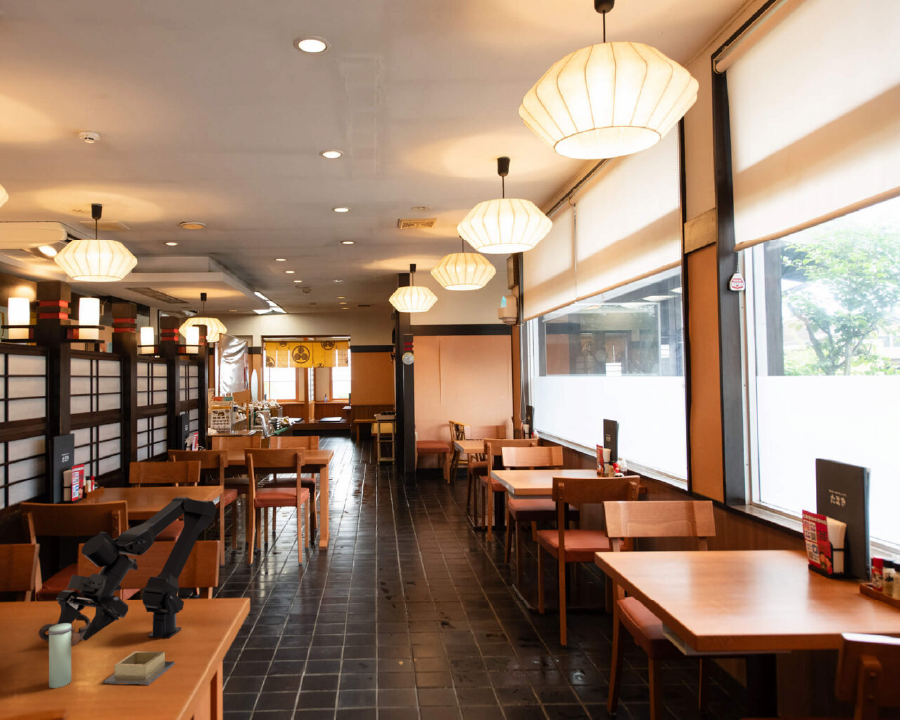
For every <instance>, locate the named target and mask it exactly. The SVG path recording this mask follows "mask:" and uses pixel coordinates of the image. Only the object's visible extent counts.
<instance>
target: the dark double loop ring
mask: <svg viewBox="0 0 900 720" xmlns="http://www.w3.org/2000/svg"><path fill="white" fill-rule="evenodd" d="M58 621H59V619H58V620H57V621H56V622H55V623H47V624H44V625H43V626H42V627H41V628H40V629H39V631H38V636H39V638H40V639H41V640H42V641H45V642H47V643H48V644H49V633H48V634H46V632H49V628H50V627H52V626H54V625H57V624H58ZM75 621H77V622H78V621H79V622H80V621H81V622H82V621H83V622H84V623H85V626H82V627H79V628H78V632H77V631H75V630H76V628H75V627H74V626H72V630H71V646H76V645H77V644H79V641H82V640H83V639H82V638H83V636H84V634H85V632H86V630H87V628H88V627H89V625H90V623H91V619H90V618H89V617H88V616H87V615H85V614H83V613H81V614H80V615H79V616H78V617H77V618H76V619H75Z"/></svg>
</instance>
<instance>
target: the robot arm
mask: <svg viewBox="0 0 900 720" xmlns="http://www.w3.org/2000/svg"><path fill="white" fill-rule="evenodd" d="M216 515H217V506H216V504H215V502H213V501H212V500H199V499H197V500H196V499H193V498H190V497H187V496H176V497H174V498H172V499H171V501H170V502H169V503H168V504H167V505H165V506H164V507H163V508H162V509H160V510H159V511H158V512H156V513H155V514H154V515H152V516H151V517H150V518H149V519H148V520H146V521H145V522H143V523H141V524H139V525H136V526H133V527H131V528H129V529H127V530H125V531H123V532H122V533H120V534H119V535H118V537H116V538H112V537H111V536H110V535H109V534H108V533H107V532H104V531H100V532H99V533H97V535H95V536H93V537H92V538H90V539H88V541H85V543H84V544H83V546H82V548H81V554H82V555H83V556H84V557H85V558H86V559H87V560H89V561H90V562H91V563H93V564H94V565H95V566H96V567H97V568H101V570H99V572H98V573H91V574H90V575H89V576H84V575H76V574H72V575H71V577H70V579H69V583H68V584H67V589H64V590H61V591H60V592H59V593H58V595H57V596H56V597H55V600H56V601H57V604H58V605H59V606H60V613H59V618H58V620H59V621H58V620H57V621H58V624H63V623H69V624H71V625H72V624H73V622H74V621H76V618H77V617H78V616H79V615H80V614H82V612H81V611H82V610H84V609H85V608H86V607H88V608H89V607H90V608H95V613H94V617H93V618H92V620H91V621H90V625H89V627H88V628H87V630H86V632H85V634H84V636H83V638H82V640H83V641H85V642H86V641H89V639H90V638H92V637H93V636H95V635H96V634H98V633H99V632H100V631H102V630H103V629H104V628H106V627H107V626H109V625H111V624H112V623H114V622H116V621H119V620H120V618H121V619H124V618H125V617H126V615H127V614H128V612H129V604H128V603H126V602H125V601H124V600H122V599H121V598H120V596H116V595H114V594H115V592H116V591H118V592H119V591H121V589H122V586H121V585H120V584H121V583H122V581H123V579H124V578H125V577H126V575H127V574H128V572H129V570H132V571H137V570H138V569H139V566H138V563H137V560H138V559H136V558H130V557H129V555H131V556H142V555H145V553H147V552H148V550H149V549H150V548H151V547H152V546H153V544H154V543H155V540H156V537H157V536H158V535H160V534H161V533H162V532H163V531H164V530H166V528H168V527H169V526H170V525H171V524H173V523H174V522H175V521H176V520H178V519H179V518H180V517H181V516H183V518H182V519H183V528H182V529H181V531H180V534H179V536H178V538H177V540H176V541H175V543H174V546H173V547H172V549H171V551H170V554H169V556H168V557H167V560H166V561H165V564H164V566H163V568H162V570H161V572H160V573H159V574H158V575H156V576H150V577H149V579H148V580H147V583H146V585H145V587H144V588H143V589H142V592H143V593H142V596H141V600H142V604H143V606H144V608H145V610H146V612H147V613H152V614H153V615H152V631H151V632H150V633H149V634H147V637H148V638H156V639H159V638H164V639H169V638H171V637H173V636H174V635H175V634H177V633H178V632H179V631H181V630H182V627H181V626H177V614H179V613H180V611H183V609H184V605H185V602H184V600H183V599H182V598H180V596H178V595H179V594H178V593H179V591H180V589H179V577H180V576H181V574H182V572H183V570H184V567H185V565H186V563H187V561H188V559H189V556H190V555H191V552H192V550H193V548H194V547H195V544H196V542H197V540H198V538H199V536H200V534H201V532H202V531H203V530H205V529H206V528H208V526H209V525H210V524H212V522H213V520H214V518H215V516H216ZM72 589H73V590H72ZM76 590H78V591H76ZM58 624H57V625H58Z"/></svg>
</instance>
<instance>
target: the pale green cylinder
mask: <svg viewBox="0 0 900 720" xmlns="http://www.w3.org/2000/svg"><path fill="white" fill-rule="evenodd" d="M72 627H73V625H72V623H71V624H69V623H63V624H58V625H54V626H52V627H50V628H49V631H48V634H49V643H48V688H50V689H59V687H60V688H63V687H65V685H66V686H68V685H70V684H71V683H72V645H71V640H72V636H71V630H72ZM70 682H71V683H70ZM69 683H70V684H69ZM67 684H68V685H67Z"/></svg>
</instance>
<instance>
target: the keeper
mask: <svg viewBox="0 0 900 720" xmlns="http://www.w3.org/2000/svg"><path fill="white" fill-rule="evenodd" d="M165 655H166V651H152V650H151V651H144V650H143V651H141V650H138V651H137V650H134V651H132V652H131V653H130V654H128V655H127V656H125V657H124V658H123V659H121V660H120V661H118V662H117V663H116V664H114V673H113V674H112V675H110V676H109V677H107V678H106V679H105V680H103V684H104V683H111V684H110V685H119V684H118V683H124V684H123V685H126V683H127V684H145V685H144V686H150V685H151V684H152V683H153V682H154V681H156V680H155V679H159V678H160V677H161V676H162V675H163V674H164V673H165V672H167V671H168V670H169V669H170V668H172V667H173V666H174V665H176V663H175V661H170V660H169V661H166V660H165V659H166V658H165V657H166V656H165ZM151 682H152V683H151ZM114 683H116V684H114ZM150 683H151V684H150Z"/></svg>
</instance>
